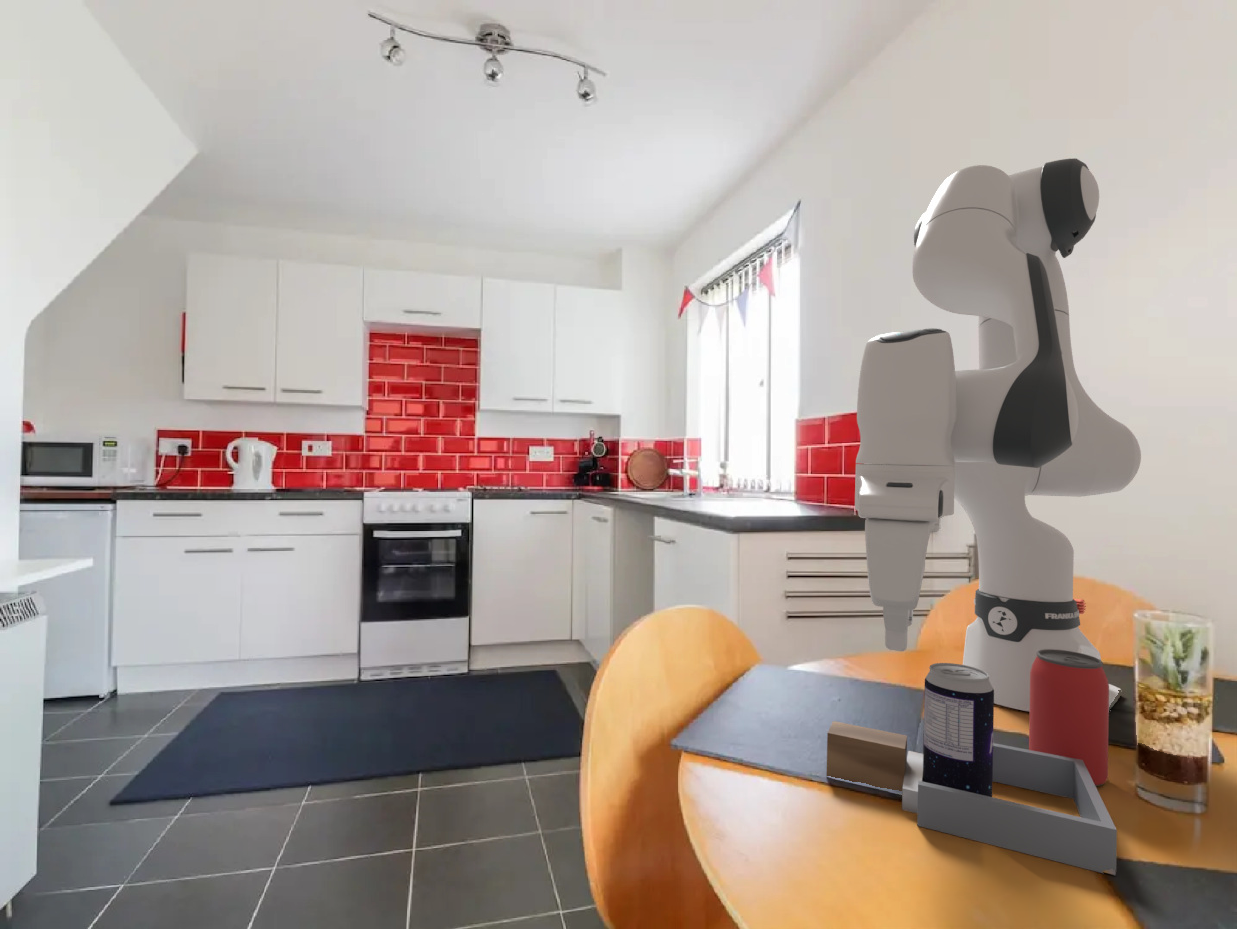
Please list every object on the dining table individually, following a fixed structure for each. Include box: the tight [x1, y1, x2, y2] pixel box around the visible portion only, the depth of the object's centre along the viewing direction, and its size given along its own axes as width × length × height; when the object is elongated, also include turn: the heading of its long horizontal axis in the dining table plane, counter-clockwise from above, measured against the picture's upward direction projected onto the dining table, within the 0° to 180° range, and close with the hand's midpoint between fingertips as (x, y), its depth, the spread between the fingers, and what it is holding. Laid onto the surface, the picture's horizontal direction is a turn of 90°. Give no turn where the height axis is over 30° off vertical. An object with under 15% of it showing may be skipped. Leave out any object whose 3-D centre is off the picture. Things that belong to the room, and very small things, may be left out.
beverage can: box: [922, 662, 995, 797], centre depth 58 cm, size 6×6×12 cm
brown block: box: [826, 720, 923, 814], centre depth 62 cm, size 9×8×4 cm
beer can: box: [1028, 649, 1110, 787], centre depth 64 cm, size 7×7×12 cm
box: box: [916, 730, 1118, 874], centre depth 57 cm, size 14×14×4 cm
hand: (899, 635), depth 62 cm, fingers open, 8 cm apart
